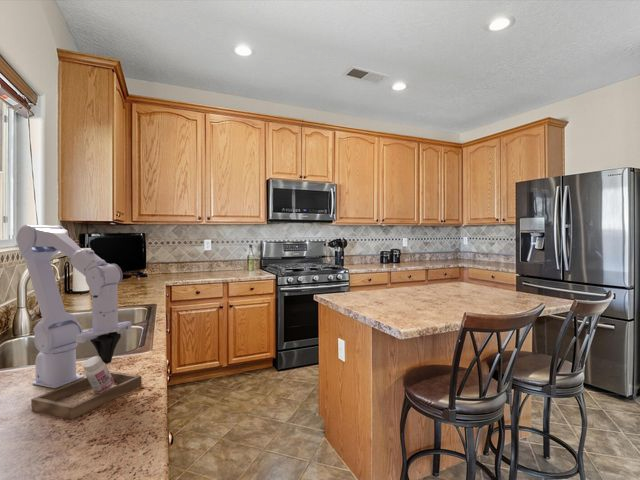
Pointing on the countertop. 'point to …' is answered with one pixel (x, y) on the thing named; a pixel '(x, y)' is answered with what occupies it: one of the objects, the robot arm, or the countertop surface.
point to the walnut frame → (50, 406)
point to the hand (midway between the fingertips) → (106, 362)
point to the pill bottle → (98, 374)
